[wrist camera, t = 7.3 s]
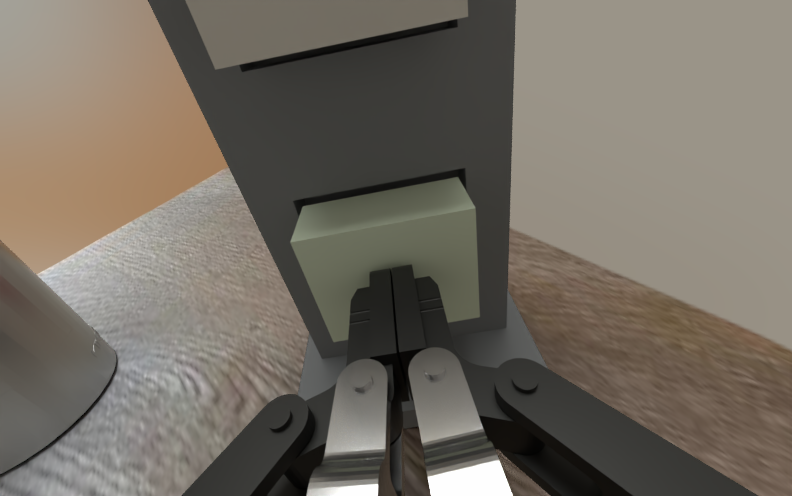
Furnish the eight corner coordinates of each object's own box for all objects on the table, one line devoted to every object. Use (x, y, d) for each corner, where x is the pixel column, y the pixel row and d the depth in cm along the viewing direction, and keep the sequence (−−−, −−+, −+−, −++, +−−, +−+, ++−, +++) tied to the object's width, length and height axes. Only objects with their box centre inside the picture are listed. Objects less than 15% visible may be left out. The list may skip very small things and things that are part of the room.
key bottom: (479, 317, 13) (475, 208, 10) (333, 342, 14) (290, 242, 11) (464, 277, 15) (458, 176, 12) (337, 299, 16) (302, 206, 13)
